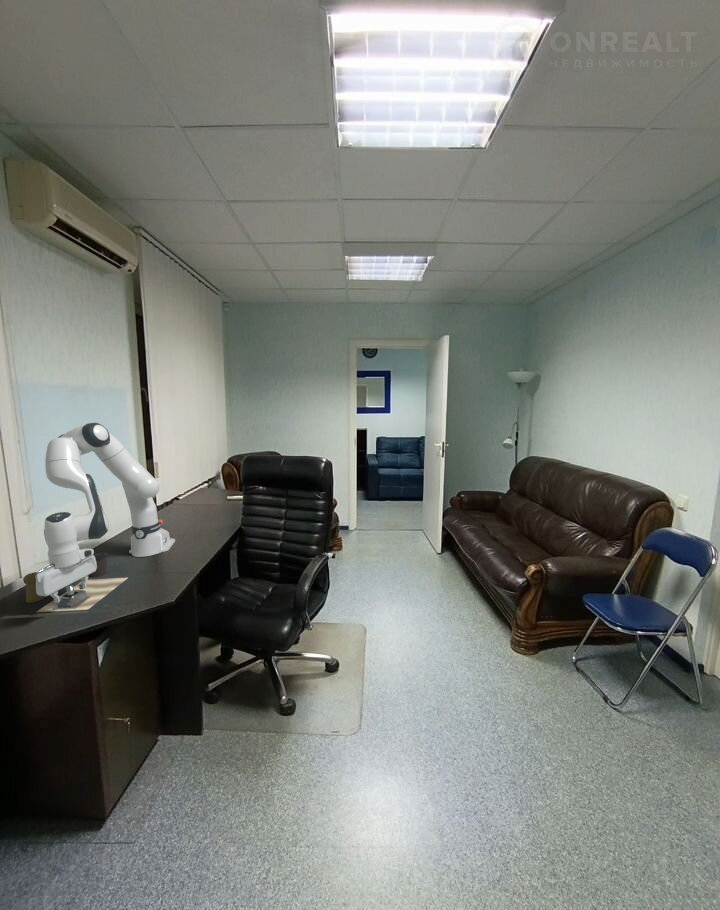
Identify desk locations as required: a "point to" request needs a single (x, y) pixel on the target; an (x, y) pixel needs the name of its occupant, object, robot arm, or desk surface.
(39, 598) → the cork
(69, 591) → the post
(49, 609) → the board
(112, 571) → the desk surface
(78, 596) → the link
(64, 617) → the desk surface
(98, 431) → the robot arm
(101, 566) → the coffee cup
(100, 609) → the desk surface
